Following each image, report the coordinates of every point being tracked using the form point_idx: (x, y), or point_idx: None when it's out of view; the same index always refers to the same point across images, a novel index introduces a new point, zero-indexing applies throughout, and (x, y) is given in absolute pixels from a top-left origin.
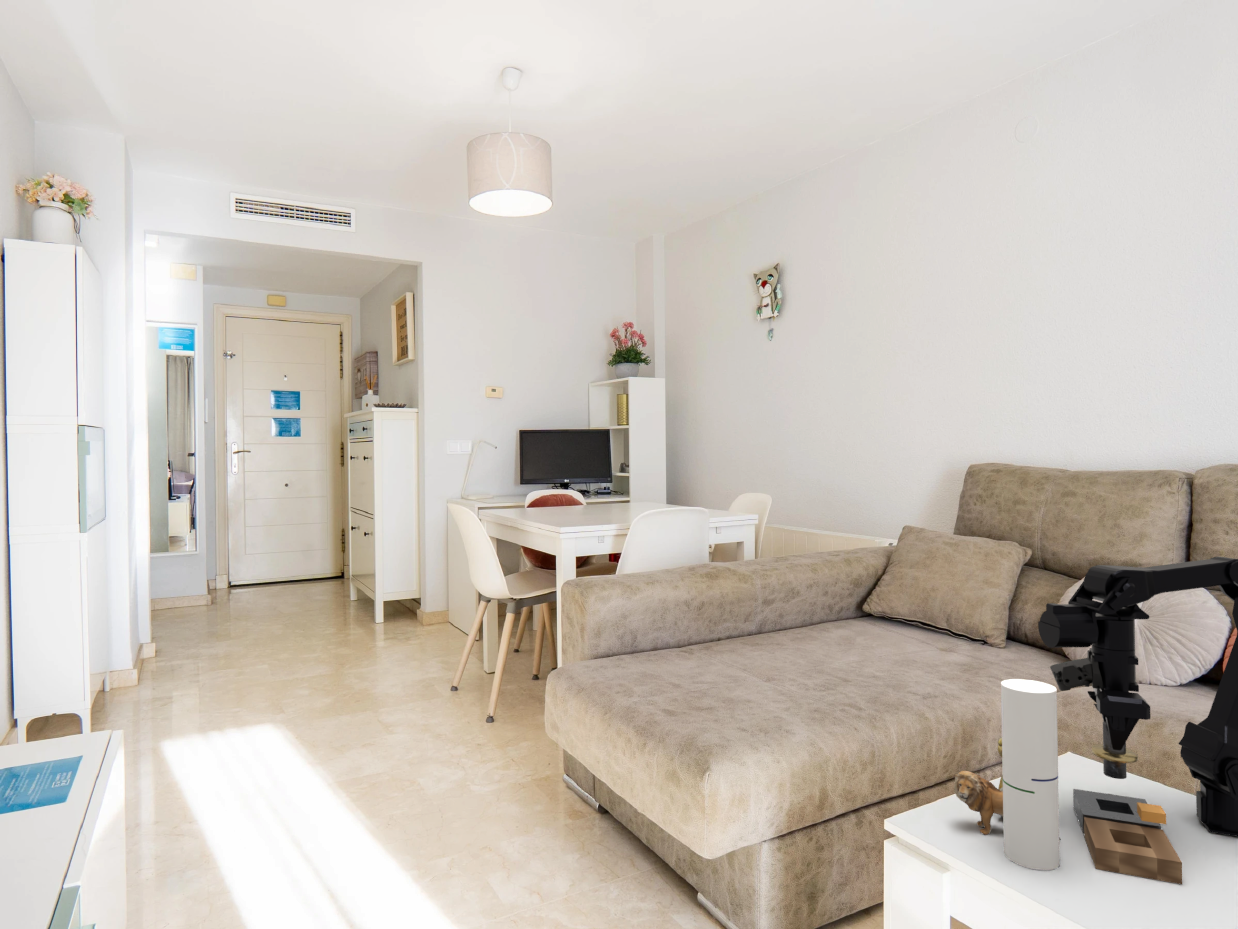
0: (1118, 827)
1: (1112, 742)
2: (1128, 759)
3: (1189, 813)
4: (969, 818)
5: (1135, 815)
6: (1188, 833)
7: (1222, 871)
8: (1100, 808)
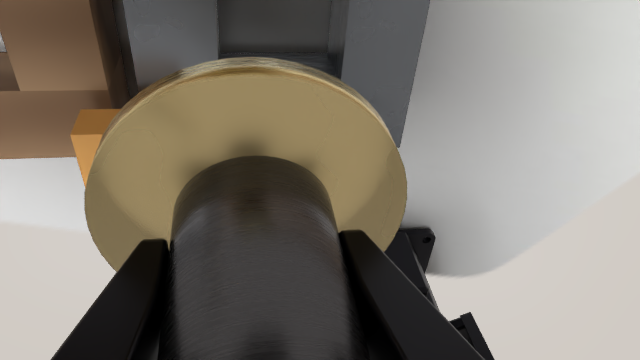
0: (24, 1)
1: (106, 291)
2: None
3: (445, 214)
4: None
5: None
6: None
7: (74, 220)
8: None
